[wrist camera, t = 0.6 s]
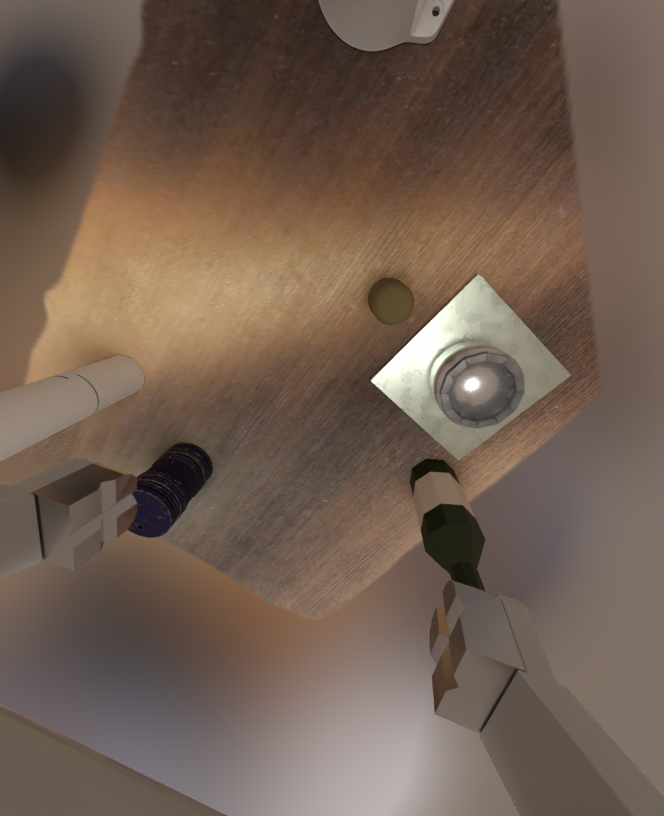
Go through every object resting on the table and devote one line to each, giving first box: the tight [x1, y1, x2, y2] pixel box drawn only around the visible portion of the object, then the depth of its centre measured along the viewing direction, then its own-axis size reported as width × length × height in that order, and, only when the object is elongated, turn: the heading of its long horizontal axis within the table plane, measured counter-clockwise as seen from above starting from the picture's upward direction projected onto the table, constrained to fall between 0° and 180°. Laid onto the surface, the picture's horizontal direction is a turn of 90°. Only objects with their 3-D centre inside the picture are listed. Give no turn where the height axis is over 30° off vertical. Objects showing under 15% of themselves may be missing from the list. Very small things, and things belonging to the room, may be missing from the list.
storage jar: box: [128, 443, 213, 538], centre depth 57 cm, size 10×10×15 cm
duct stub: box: [370, 274, 571, 461], centre depth 48 cm, size 22×22×8 cm
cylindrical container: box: [0, 355, 144, 461], centre depth 46 cm, size 7×7×25 cm
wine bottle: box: [410, 459, 485, 591], centre depth 46 cm, size 8×8×30 cm
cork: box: [368, 278, 414, 325], centre depth 43 cm, size 6×6×11 cm
